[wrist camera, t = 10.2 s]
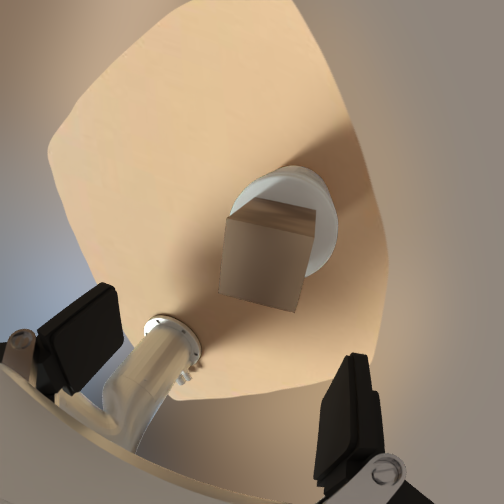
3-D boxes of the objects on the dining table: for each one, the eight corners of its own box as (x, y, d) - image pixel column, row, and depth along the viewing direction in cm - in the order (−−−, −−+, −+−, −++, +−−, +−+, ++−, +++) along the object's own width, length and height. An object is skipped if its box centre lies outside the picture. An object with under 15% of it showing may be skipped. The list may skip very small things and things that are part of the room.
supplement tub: (265, 237, 38) (234, 286, 25) (254, 169, 35) (213, 183, 22) (334, 231, 36) (342, 280, 22) (326, 160, 33) (333, 167, 19)
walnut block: (316, 210, 21) (314, 237, 14) (302, 266, 23) (294, 312, 16) (254, 197, 22) (226, 218, 15) (246, 253, 24) (218, 293, 17)
